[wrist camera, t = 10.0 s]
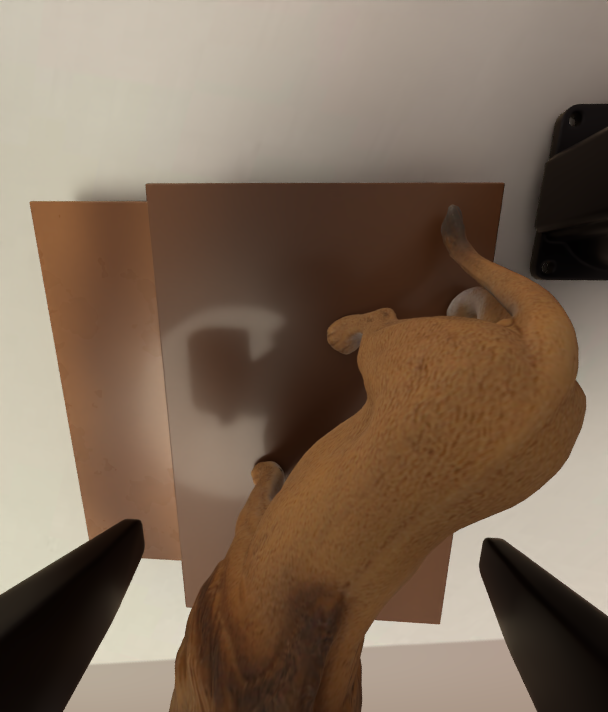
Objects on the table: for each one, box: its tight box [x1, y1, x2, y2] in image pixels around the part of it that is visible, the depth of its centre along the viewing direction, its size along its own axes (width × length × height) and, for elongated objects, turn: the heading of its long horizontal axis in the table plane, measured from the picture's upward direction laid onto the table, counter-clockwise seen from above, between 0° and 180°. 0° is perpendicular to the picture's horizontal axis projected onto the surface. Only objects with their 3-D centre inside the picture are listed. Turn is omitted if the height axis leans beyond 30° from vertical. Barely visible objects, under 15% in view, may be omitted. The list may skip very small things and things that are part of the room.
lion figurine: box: [169, 205, 586, 712], centre depth 7 cm, size 15×5×9 cm, turn 159°
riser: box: [30, 182, 505, 624], centre depth 14 cm, size 17×17×4 cm
